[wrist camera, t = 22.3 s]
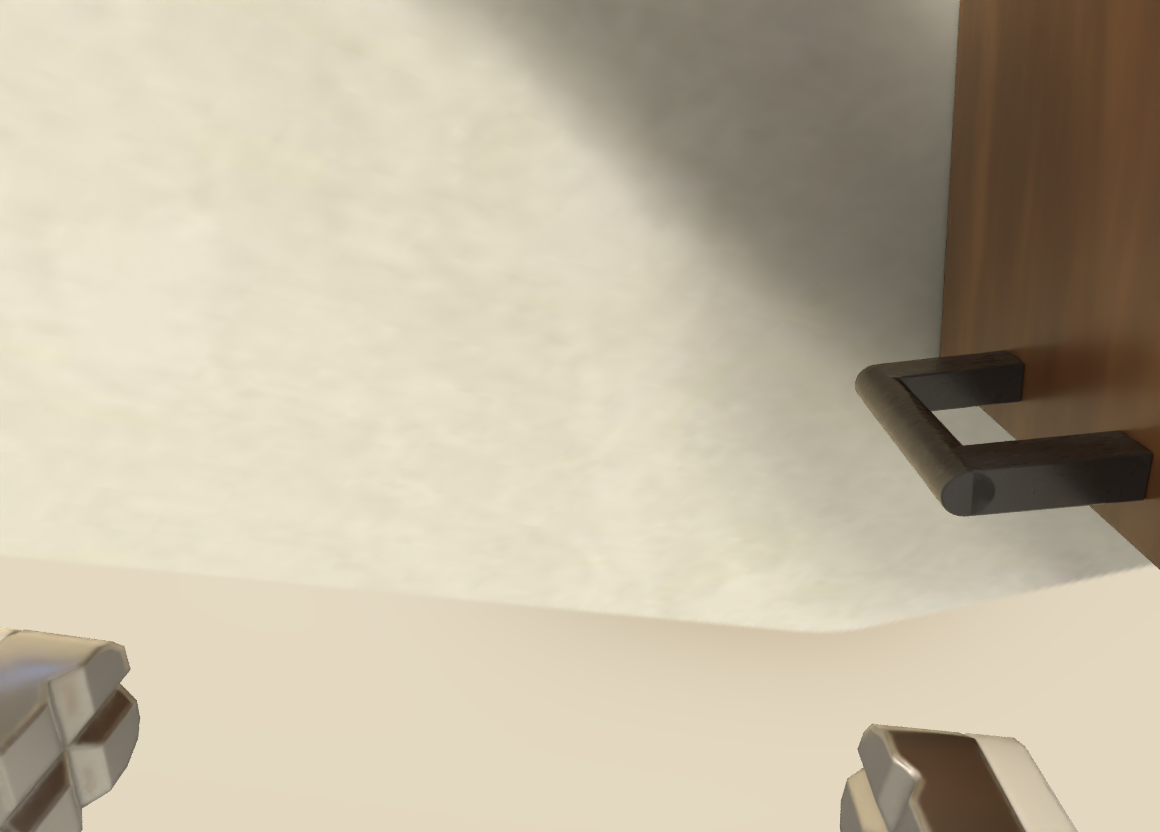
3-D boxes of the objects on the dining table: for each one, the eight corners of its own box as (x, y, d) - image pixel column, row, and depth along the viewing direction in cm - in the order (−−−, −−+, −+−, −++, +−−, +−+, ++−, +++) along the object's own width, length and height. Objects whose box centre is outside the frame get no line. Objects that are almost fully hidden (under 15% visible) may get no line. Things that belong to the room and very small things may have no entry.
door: (817, 383, 37) (1042, 728, 17) (810, -151, 28) (1251, -693, 8) (959, 367, 36) (1363, 708, 17) (997, -185, 28) (1952, -863, 8)
